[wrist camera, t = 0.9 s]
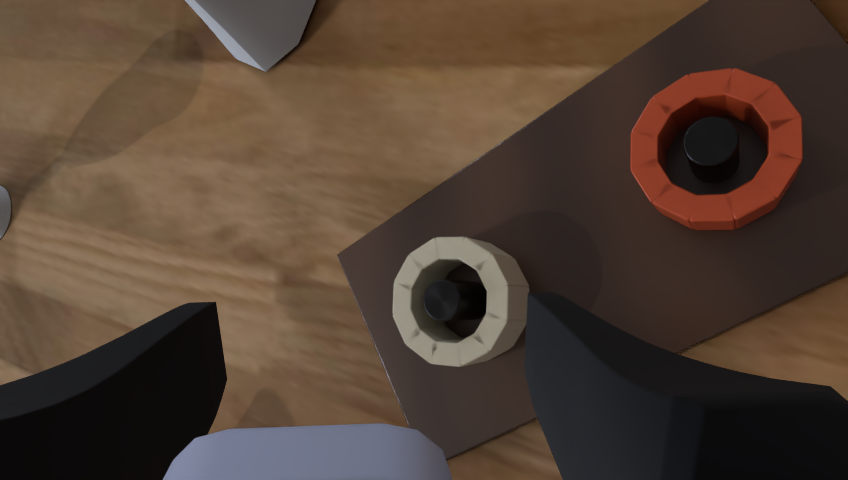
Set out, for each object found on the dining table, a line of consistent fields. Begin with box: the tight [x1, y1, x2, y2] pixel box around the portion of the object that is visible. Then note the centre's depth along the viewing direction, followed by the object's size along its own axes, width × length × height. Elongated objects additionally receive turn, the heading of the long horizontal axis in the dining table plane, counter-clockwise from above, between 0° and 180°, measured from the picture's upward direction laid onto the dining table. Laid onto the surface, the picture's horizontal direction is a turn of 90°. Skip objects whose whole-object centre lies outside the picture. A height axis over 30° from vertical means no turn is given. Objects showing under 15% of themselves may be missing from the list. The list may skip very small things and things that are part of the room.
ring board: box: [337, 0, 848, 460], centre depth 25 cm, size 24×12×4 cm, turn 118°
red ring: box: [630, 68, 803, 230], centre depth 23 cm, size 6×6×3 cm
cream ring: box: [393, 237, 529, 367], centre depth 27 cm, size 6×6×3 cm
